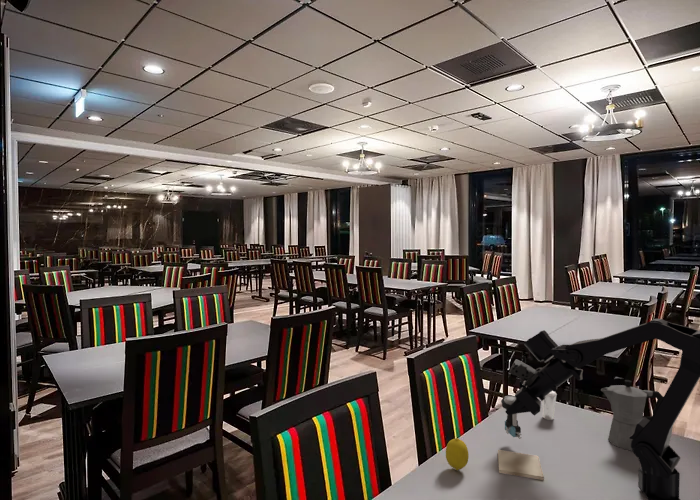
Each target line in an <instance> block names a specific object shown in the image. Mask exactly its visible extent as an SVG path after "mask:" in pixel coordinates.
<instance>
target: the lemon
mask: <svg viewBox="0 0 700 500" xmlns="http://www.w3.org/2000/svg"><path fill="white" fill-rule="evenodd" d="M445 458H446V459H445V460H446V462H447V464H448V465H449V466H450V467H451V468H453V469H454V470H456V471H458V470H462V469H464V468H465V467H466V466H467V465H468V462H469V449H468V447H467V444H466V442H464V441H463V440H462V439H460V438H458V437H456V438H453V439H451V440H449V441H448V443H447V444H446V447H445Z"/></svg>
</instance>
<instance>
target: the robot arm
mask: <svg viewBox="0 0 700 500" xmlns="http://www.w3.org/2000/svg"><path fill="white" fill-rule="evenodd" d="M652 340H658V341H661V342H662V343H664V344H667V345H668V346H670V347H672V348H674V349H677V350H679V351H682V352H681V356H680V363H679V367H678V370H677V372H676V374H674V377H673V379H672V381H671V382H670V384H669V386H668V388H667V390H666V392H665V394H664V395H663V399H662V401H661V403H660V404H659V406H658V408H657V410H656V412H655V414H654V415H653V414H652V415H653V417H652V419H651V420H648V419H647V416H643V417H642V419H641V420H640V421H639V422H638V423H637V425H636V428H635V432H634V433H633V434H632V435H631V436H630V437H629V438H630V439H633V440H632V441H631V448H632V450H633V451H632V452H633V454H634V455H635V456H636V457H637V458H638V461H639V464H640V466H641V467H639V468H638V481H637V485H638V487H639V488H640V489H639V490H641V492H642V493H643V494H644V496H645V498H646V499H647V500H681V499H680V475H681V473H680V472H679V471H678V470H677V469H676V466H678V464H679V461H680V460H681V457H680V455H679V454H678V453H677V452H676V451H675V449H673V447H671V445H670V442H671V440H672V439H671V438H672V433H673V429H674V428H673V426H674V424H675V423H676V421H677V420H678V417H679V416H680V414H681V413H682V410H683V408H684V407H685V405H686V403H687V402H688V400H689V398H690V396H691V394H692V393H693V391H694V389H695V387H696V386H697V384H698V382H699V381H700V330H698V329H695V328H692V327H690V326H685V325H680V324H677V323H672V322H670V321H667V320H665V319H662V318H653V319H652V320H649V321H648V322H646V323H642V324H640V325H637V326H634V327H631V328H627V329H626V330H622V331H619V332H616V333H614V334H610V335H608V336H605V337H601V338H592V339H586V340H585V339H584V340H580V341H576V342H574V343H571V344H561V345H558V344H557V343H556V341H555V340H553V338H552V337H551V336H550V335H549V334H548V332H547V331H546V330H540V331H539V332H538V333H537V334H535V335H533V336H532V337H529V339H527V340H525V342H524V346H525V347H526V348H527V349H528V351H529V352H530V353H531V354H532V355H533V356H534V358H535V359H536V360H537V362H540V363H541V362H544V363H546V365H545V366H543V367H537V368H536V369H535V368H533V367H532V366H531V365H528V364H526V363H525V362H523V361H521V360H519V359H515V360H514V361H513V363H512V365H511V367H510V369H509V373H510V374H511V375H513V376H516V377H517V378H519V379H520V380H519V384H518V385H519V386H518V387H519V388H518V389H516V393H515V395H514V396H515V397H516V399H515V401H514V402H513V403H512V404H511V405H510V406H509V407H508V409H507V410H506V409H505V411H504V412H505V414H506V416H507V415H511V414H517V415H518V414H522V413H531V415H532V416H536V415H537V414H539V413H540V412H541V409H542V401H543V400H544V399H545V396H546V395H548V394H549V393H550V392H552V391H554V392H556V391H558V387H560V386H561V385H563V383H565V382H566V381H567V380H569V379H570V378H572V377H574V378H575V379H576V380H577V381H582V380H583V379H584V378H583V372H584V370H583V369H581V368H583V367H585V366H586V365H588V364H591V363H592V362H594V361H595V360H598V359H600V358H601V357H603V356H605V355H608V354H611V353H614V352H618V351H621V350H623V349H626V348H629V347H633V346H636V345H640V344H642V343H645V342H648V341H649V342H650V341H652ZM552 358H553V360H551V359H552ZM550 360H551V361H550ZM547 362H548V363H547Z"/></svg>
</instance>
